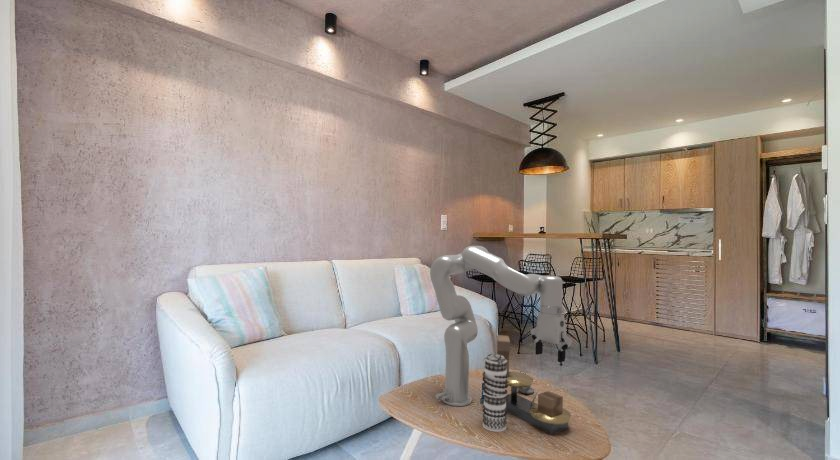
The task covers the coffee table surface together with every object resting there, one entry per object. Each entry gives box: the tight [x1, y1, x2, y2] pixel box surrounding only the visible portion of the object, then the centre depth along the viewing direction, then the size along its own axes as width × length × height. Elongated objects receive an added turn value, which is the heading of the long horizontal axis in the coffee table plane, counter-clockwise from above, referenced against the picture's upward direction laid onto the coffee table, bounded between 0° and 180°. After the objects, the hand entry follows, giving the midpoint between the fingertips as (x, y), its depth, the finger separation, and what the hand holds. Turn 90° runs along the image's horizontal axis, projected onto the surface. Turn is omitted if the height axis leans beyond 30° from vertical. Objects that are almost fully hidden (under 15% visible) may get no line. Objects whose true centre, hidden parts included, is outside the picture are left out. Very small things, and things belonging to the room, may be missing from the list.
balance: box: [506, 370, 572, 436], centre depth 145 cm, size 14×31×12 cm, turn 34°
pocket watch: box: [517, 370, 535, 395], centre depth 168 cm, size 8×8×10 cm
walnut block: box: [537, 390, 564, 418], centre depth 137 cm, size 6×6×6 cm
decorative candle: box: [482, 353, 509, 433], centre depth 137 cm, size 9×9×25 cm
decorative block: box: [496, 334, 511, 372], centre depth 181 cm, size 11×6×20 cm, turn 170°
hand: (549, 357), depth 138 cm, fingers open, 9 cm apart
